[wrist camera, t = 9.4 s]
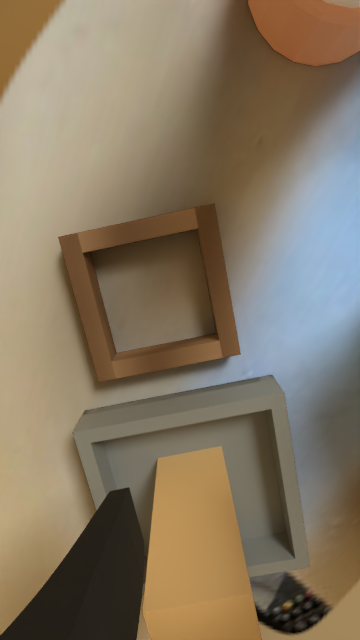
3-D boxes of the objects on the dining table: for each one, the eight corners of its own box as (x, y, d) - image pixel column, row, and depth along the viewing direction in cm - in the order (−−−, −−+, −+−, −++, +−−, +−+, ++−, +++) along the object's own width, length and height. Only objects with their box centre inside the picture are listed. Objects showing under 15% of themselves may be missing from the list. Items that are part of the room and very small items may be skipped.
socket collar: (211, 206, 18) (214, 203, 17) (236, 346, 20) (240, 354, 19) (67, 237, 19) (58, 237, 17) (104, 371, 20) (98, 382, 19)
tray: (271, 374, 21) (284, 392, 18) (296, 532, 23) (310, 567, 21) (84, 410, 21) (72, 432, 19) (129, 561, 24) (123, 598, 21)
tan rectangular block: (221, 446, 21) (251, 593, 12) (233, 500, 22) (269, 675, 13) (157, 458, 21) (142, 612, 12) (171, 512, 22) (166, 691, 13)
